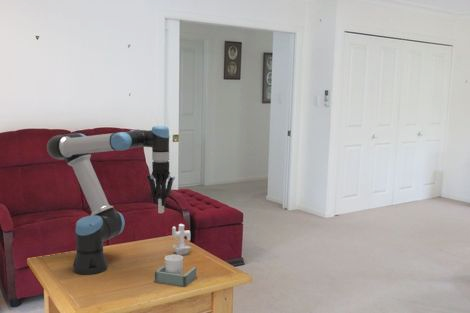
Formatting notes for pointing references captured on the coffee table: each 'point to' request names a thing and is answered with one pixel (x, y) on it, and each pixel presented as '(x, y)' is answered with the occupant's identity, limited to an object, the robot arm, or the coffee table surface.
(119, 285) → the coffee table surface
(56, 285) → the coffee table surface
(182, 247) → the figurine
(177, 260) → the white cup
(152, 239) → the coffee table surface
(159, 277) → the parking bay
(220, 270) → the coffee table surface
